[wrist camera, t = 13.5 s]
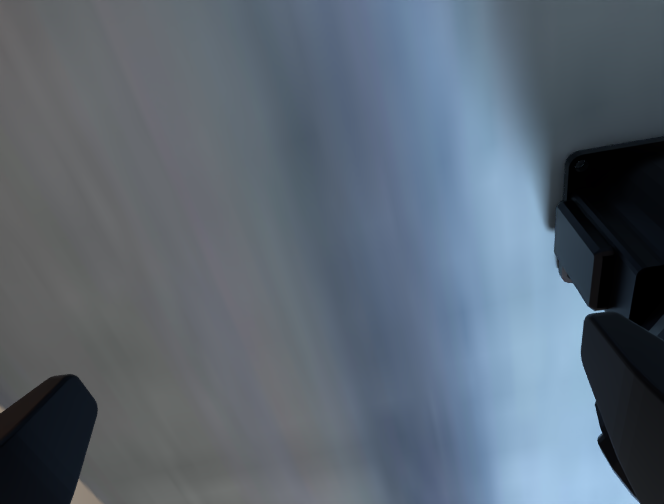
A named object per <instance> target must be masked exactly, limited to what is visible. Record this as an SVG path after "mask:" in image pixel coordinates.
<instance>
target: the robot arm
mask: <svg viewBox="0 0 664 504" xmlns="http://www.w3.org/2000/svg"><path fill="white" fill-rule="evenodd" d="M581 160H585V162H584V164H583V165H582V166H581V167H579V168H575V166H576V164H577V163H578V162H579V161H581ZM554 253H555V255H556V257H557V258H558V260H559V274H560V276H561V278H562V279H563V280H564V281H565V282H567V283H573V284H574V285H575V287H576V288H577V290H578V291H579V293H580V295H581V296H582V298H583V299H584V301H585V303H586V304H587V306H588V307H590V308H591V309H592V310H594V311H598V310H604V311H605V312H601V313H593V314H589V315H587V316H586V317H585V320H584V326H583V335H582V345H581V359H582V363H583V367H584V369H585V372H586V375H587V378H588V380H589V383H590V386H591V388H592V391H593V394H594V396H595V399H596V402H595V407H596V411H597V416H598V420H599V424H600V428H601V431H602V434H601V435H600V436H599V437H598V440H597V441H598V444H599V447H600V449H601V451H602V453H603V454H604V456H605V458H606V459H607V461H608V463H609V465H610V466H611V468H612V470H613V471H614V473H615V474H616V475H617V477H618V478H619V479H620V480H621V482H622V483H623V484H624V486H625V487H626V488H627V489H628V491H629V492H630V493H631V495H632V496H633V497H634V498H635V499H636V500H637V501H638V502H639V503H640V504H664V137H658V138H652V139H646V140H640V141H634V142H628V143H622V144H617V145H611V146H605V147H599V148H593V149H587V150H581V151H577V152H574V153H573V154H571V155H570V156H569V157H568V159H567V160H566V163H565V175H564V192H563V201H561V202H560V203H559V204H558V206H557V207H556V224H555V243H554ZM97 411H98V408H97V403H96V401H95V399H94V398H93V397H92V395H91V394H90V392H89V391H88V390H87V388H86V387H85V386H84V384H83V383H82V382H81V380H80V379H79V378H78V377H77V376H75V375H73V374H67V375H58V376H53V377H50V378H49V379H47V380H46V381H44V382H43V383H41V384H40V385H39V386H37V387H36V388H35V389H33V390H32V391H31V392H29V393H28V394H26V395H25V396H24V397H22V398H21V399H20V400H18V401H17V402H15V403H14V404H13V405H11V406H10V407H9V408H7V409H6V410H5V411H3V412H2V413H0V504H70V503H71V500H72V497H73V495H74V491H75V489H76V485H77V482H78V479H79V475H80V472H81V469H82V465H83V462H84V458H85V455H86V451H87V448H88V444H89V441H90V438H91V434H92V431H93V427H94V424H95V420H96V417H97Z"/></svg>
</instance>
